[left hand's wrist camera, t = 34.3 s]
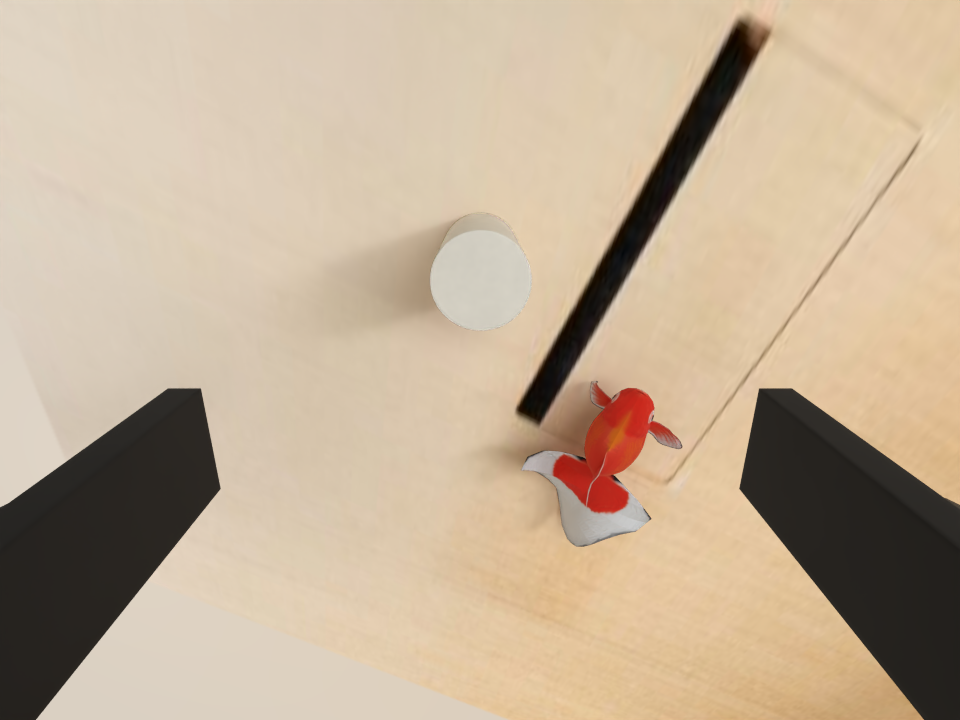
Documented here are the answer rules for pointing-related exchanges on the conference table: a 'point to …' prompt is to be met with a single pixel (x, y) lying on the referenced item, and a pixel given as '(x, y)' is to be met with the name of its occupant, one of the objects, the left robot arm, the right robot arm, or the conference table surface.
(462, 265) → the can
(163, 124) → the conference table surface
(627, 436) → the fish
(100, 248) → the conference table surface
